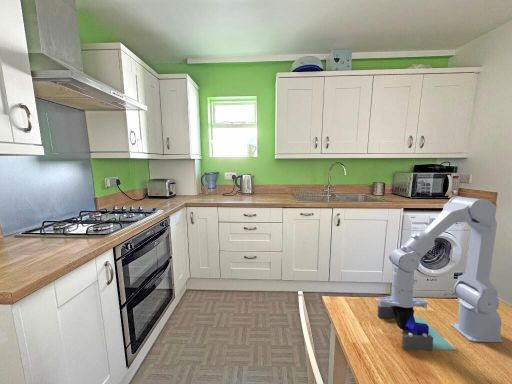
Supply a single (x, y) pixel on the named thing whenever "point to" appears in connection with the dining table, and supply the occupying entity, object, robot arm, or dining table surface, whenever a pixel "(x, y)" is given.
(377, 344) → the dining table surface
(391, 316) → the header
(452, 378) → the dining table surface
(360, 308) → the dining table surface
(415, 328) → the blue bent block
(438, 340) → the mat
